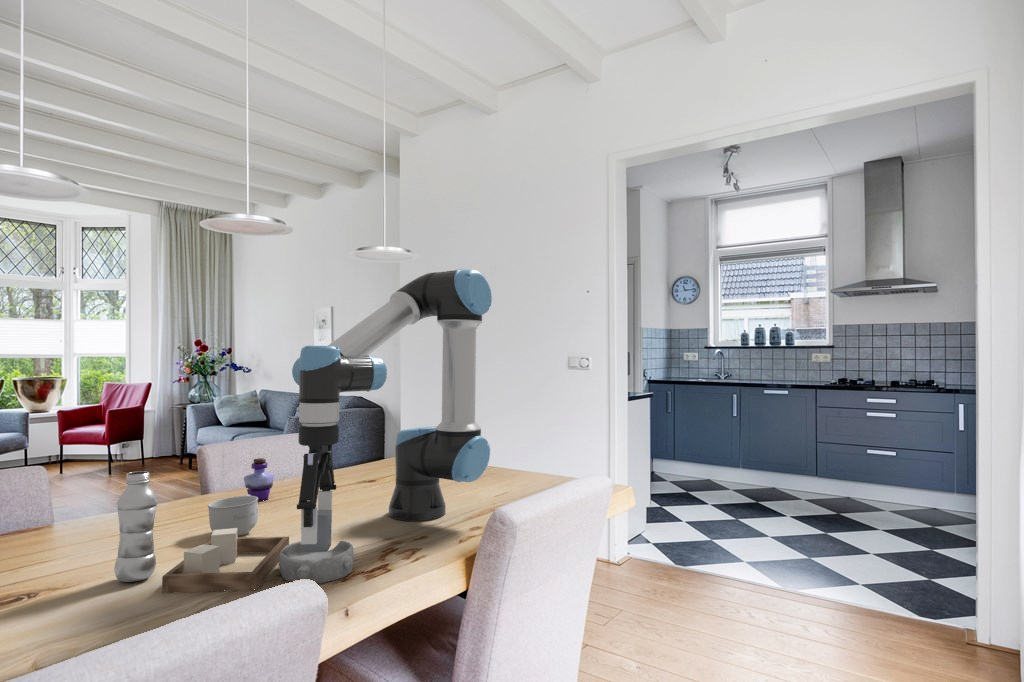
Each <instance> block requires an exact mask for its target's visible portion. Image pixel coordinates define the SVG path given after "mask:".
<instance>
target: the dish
mask: <svg viewBox="0 0 1024 682" xmlns="http://www.w3.org/2000/svg"><path fill="white" fill-rule="evenodd" d="M354 550H355V549H354V545H353V544H352V543H351V542H350V541H346V540H340V541H339V542H338V543H337V544H336V546H334V548H332V549H329V550H328V551H327V552H303V544H301V540H300V541H296V542H292V543H289V545H287V546H286V547H284V548H283V549H282V550H281V552H280V557H279V563H278V564H279V565H278V567H279V568H278V570H279V573H280V576H281V577H282V578H283V579H284V580H286V581H288V582H291V581H295V580H300V579H310V580H313V581H315V582H316V583H317V584H323V583H328V582H332V581H336V580H339V579H341V578H345V577H346V576H348V575H349V574H350V573H351V572H352V571H353V567H354V561H355V553H354V552H355V551H354ZM291 583H292V582H291Z"/></svg>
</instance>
